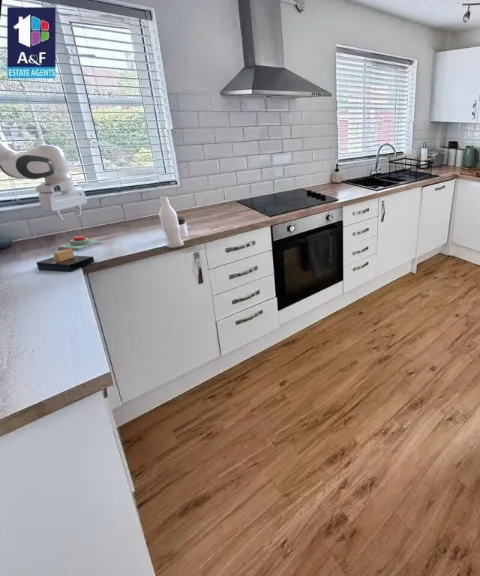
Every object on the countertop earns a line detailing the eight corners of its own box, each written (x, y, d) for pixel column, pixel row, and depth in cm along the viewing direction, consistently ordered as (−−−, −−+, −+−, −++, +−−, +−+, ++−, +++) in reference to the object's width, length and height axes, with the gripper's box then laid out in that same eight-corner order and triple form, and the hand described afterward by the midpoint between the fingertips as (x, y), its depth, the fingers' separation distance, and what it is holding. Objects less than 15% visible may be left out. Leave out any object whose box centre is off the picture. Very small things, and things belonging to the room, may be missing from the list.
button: (71, 241, 169) (70, 237, 169) (79, 239, 173) (78, 235, 172) (79, 241, 169) (78, 238, 168) (87, 239, 173) (86, 236, 172)
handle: (60, 261, 145) (57, 252, 143) (55, 261, 145) (53, 252, 144) (74, 257, 151) (72, 248, 149) (70, 256, 151) (67, 248, 150)
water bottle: (171, 253, 170) (157, 199, 159) (165, 250, 174) (151, 197, 164) (187, 250, 175) (175, 197, 164) (181, 246, 179) (169, 194, 168)
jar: (174, 239, 191) (169, 216, 186) (191, 238, 193) (186, 215, 187) (168, 244, 183) (162, 221, 178) (186, 243, 185) (180, 220, 180)
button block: (59, 251, 167) (56, 242, 165) (83, 243, 179) (81, 235, 177) (79, 252, 166) (77, 244, 164) (102, 245, 178) (100, 236, 176)
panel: (38, 269, 144) (36, 262, 143) (63, 261, 155) (61, 254, 153) (71, 272, 143) (69, 264, 142) (94, 263, 154) (92, 256, 152)
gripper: (72, 182, 165) (81, 213, 170) (31, 188, 146) (43, 222, 151) (86, 182, 165) (94, 213, 170) (47, 188, 146) (58, 223, 151)
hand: (70, 218), depth 160 cm, fingers open, 8 cm apart
